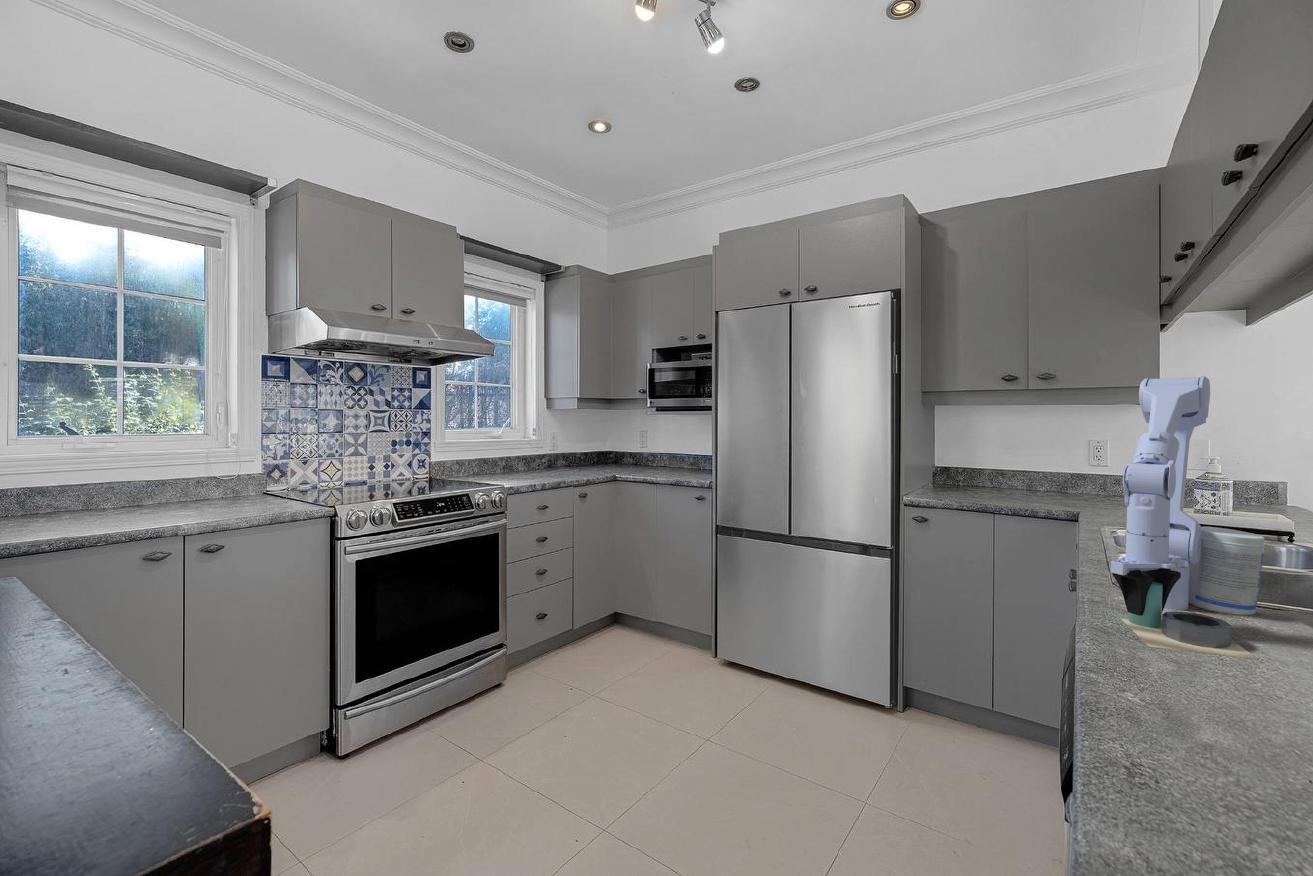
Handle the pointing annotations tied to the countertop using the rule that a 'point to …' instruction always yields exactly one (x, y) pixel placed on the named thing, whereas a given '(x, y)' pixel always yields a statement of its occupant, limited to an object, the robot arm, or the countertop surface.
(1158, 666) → the countertop surface
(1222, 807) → the countertop surface
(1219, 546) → the supplement tub
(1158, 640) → the pale board
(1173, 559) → the robot arm
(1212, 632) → the grey faceted ring
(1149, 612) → the teal plug
